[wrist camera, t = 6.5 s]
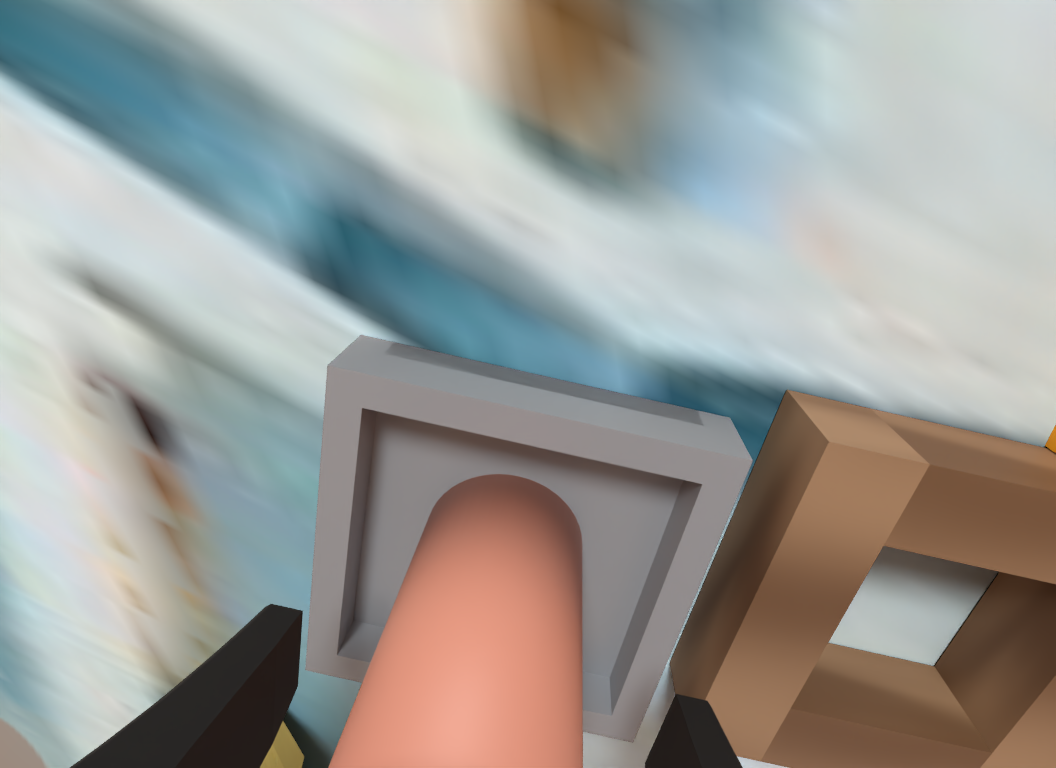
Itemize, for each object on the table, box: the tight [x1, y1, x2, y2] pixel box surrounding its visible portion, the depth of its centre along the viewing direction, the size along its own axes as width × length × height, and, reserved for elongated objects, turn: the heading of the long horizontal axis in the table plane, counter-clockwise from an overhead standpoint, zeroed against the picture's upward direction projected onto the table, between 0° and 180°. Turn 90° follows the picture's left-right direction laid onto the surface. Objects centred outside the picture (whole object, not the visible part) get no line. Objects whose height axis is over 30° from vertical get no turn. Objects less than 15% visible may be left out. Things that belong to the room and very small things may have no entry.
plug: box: [328, 474, 583, 768], centre depth 12 cm, size 4×4×7 cm
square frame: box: [670, 390, 1056, 768], centre depth 14 cm, size 9×9×2 cm
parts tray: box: [305, 335, 753, 742], centre depth 15 cm, size 9×9×2 cm
